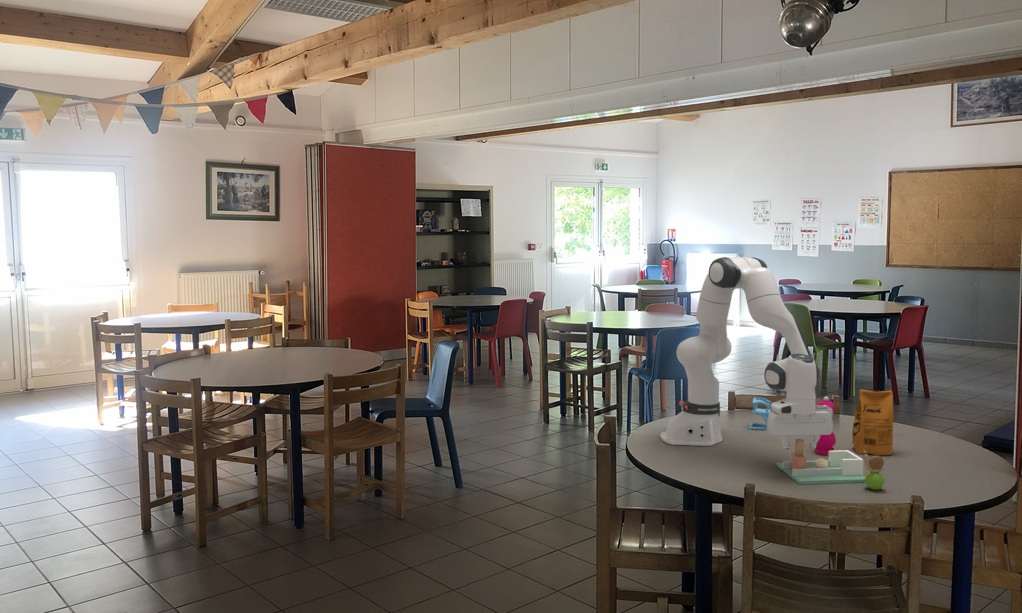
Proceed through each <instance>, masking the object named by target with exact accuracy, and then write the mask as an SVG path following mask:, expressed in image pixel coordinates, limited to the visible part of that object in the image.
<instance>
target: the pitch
mask: <svg viewBox="0 0 1022 613" xmlns="http://www.w3.org/2000/svg"><path fill="white" fill-rule="evenodd" d="M827 456H828V457H827V458H828V459H827V460H826V459H825V460H826V461H827V462H828V468H816V467H815V462H816V460H806V469H792V468H791V466H792V460H791V461H790V460H789V461H788V460H787V461H786V460H783V461H782V462H777V463H776V467H777V468H779V469H780V470H781V471H782V472H783V473H785V474H786V475H787V476H789V477H790V478H791V479H792V480H794V481H795V482H796V483H797V484H799V485H813V484H814V485H818V484H819V485H820V484H823V485H824V484H826V485H827V484H856V483H857V484H859V483H863V484H864V483H865V476H866V475H864V458H861V457H860V456H858V455H857V454H855V453H854V452H852V451H850V450H848V449H847V450H846V449H845V450H839V449H837V450H834V451H829V455H827ZM865 484H866V483H865Z"/></svg>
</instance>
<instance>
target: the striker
mask: <svg viewBox="0 0 1022 613" xmlns="http://www.w3.org/2000/svg"><path fill="white" fill-rule="evenodd" d="M794 444H795V445H794V452H792V453H791V461H792V466H791V468H792V469H806V461H807V457H806V456H805V455H804V439H801V438H795V443H794Z"/></svg>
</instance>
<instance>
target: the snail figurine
mask: <svg viewBox="0 0 1022 613" xmlns="http://www.w3.org/2000/svg"><path fill="white" fill-rule="evenodd" d="M863 452H865V454H863V461H864V465H865V467H866V470H868V471H869V472H867V473H866V475H864V476H865V485H866V486H867V487H868V488H869V489H871V490H875V491H877V490H881V489H882V488H883V487H884V486H885V478H884V476H883V474H881V472H882V471H883V470H884V465H885V462H884V461H885V460H884V459H883V458H882V457H881V455H873V456H871V457H870V458H869V455H868V454H866V451H863Z"/></svg>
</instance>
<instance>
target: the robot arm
mask: <svg viewBox="0 0 1022 613" xmlns="http://www.w3.org/2000/svg"><path fill="white" fill-rule="evenodd" d="M778 285H779V284H778V283H777V280H776V278H775V276H774V273H773V271H772V270H770V269H769V267H768V264H766V262H765V261H763V260H762V259H760V258H758V257H748V256H740V255H739V256H730V257H726V256H723V257H719V258H716V259H714V260H713V261H712V262H711V263H710V265H709V268H708V273H707V274H706V275H705V279H704V281H703V284H702V286H701V290H700V295H699V298H698V303H697V308H696V312H695V313H696V314H695V318H696V321H698V324H699V334H698V335H696V336H691V337H687V339H684V340H682V341H681V342H680V343H679V344H677V348H676V357H677V360H678V362H679V363H680V364H681V365H682V366H683V368H684V370H685V373H686V376H687V377H686V378H687V385H688V386H687V398H688V399H687V401H684V400H680V401H679V402H678V405H679V406H680V407H682V411H681V412H679V413H678V414H677V415H675V416H674V417H671V419H669V421H668V423H667V425H666V431H662V432H661V433H660V435H659V436H660V439H661V440H662V441H663V442H664V443H665V444H669V445H673V446H677V445H678V446H701V447H702V446H703V447H704V446H705V447H706V446H707V447H712V446H714V445H716V444H718V443H721V442H723V436H722V432H721V427H720V414H721V403H720V382H719V379H718V378H717V377H716V376H715V375H714V371H713V366H712V365H713V364H716V363H719V362H721V361H724V360H725V359H726V358H728V357H729V356H730V354H731V351H732V342H731V341H730V339H729V337H728V329H727V325H728V323H727V322H728V317H729V312H730V309H731V304H732V299H733V298H732V297H733V293H734V291H735V290H736V289H739V290H740V289H742V291H743V292H744V294H745V295H744V296H745V299H746V304H747V308H748V313H749V315H750V317H751V319H752V320H753V321H754V322H755V323H757V324H758V325H760V326H762V327H765V328H768V329H771V330H773V331H776V332H778V333H779V334H780V335H781V336H782V337H783V338H784V339H785V341H786V344H787V345H786V346H787V347H788V350H789V352H790V355H789V356H788V357H786V358H784V359H780V360H775V361H772V362H769V363H768V364H767V365H766V366H765V368H764V374H763V377H764V381H765V384H766V385H767V386H768V388H770V389H771V390H773V391H785V392H786V394H785V395H786V396H785V398H782V399H780V400H777V401H774V402H771V403H770V409H771V412H770V413H769V415H768V421H767V424H766V425H767V430H766V432H768V434H769V435H771V436H772V437H777V436H778V437H779V439H780V442H781V443H782V444H781V445H782V449H784V450H789V449H790V447H789V446H790V443H788V442H786V440H785V439H787V437H788V436H812V437H813V439H812V440H811V441H809V446H808V447H809V448H811V449H815V448H816V443H817V442H818V440H819V439H820V435H830V434H831V433H832V432H833V433H834V430H833V428H834V427H833V420H832V415H833V416H834V413H833V410H832V408H831V407H829V406H828V405H824V406H821V405H817V402H816V400H817V398H816V397H817V396H816V386H817V384H818V381H819V380H820V376H821V375H820V368H819V366H818V364H817V362H816V361H815V359H814V357H813V356H812V354H811V352H810V349H809V347H808V344H807V342H806V339H805V337H804V334H803V331H802V329H801V327H800V324H799V323H798V320H797V319H796V317H795V316H794V315H793V313H791V312H790V311H789V310H788V308H787V307H786V304H784V301H783V299H782V295H781V291H780V288H779V286H778Z"/></svg>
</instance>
